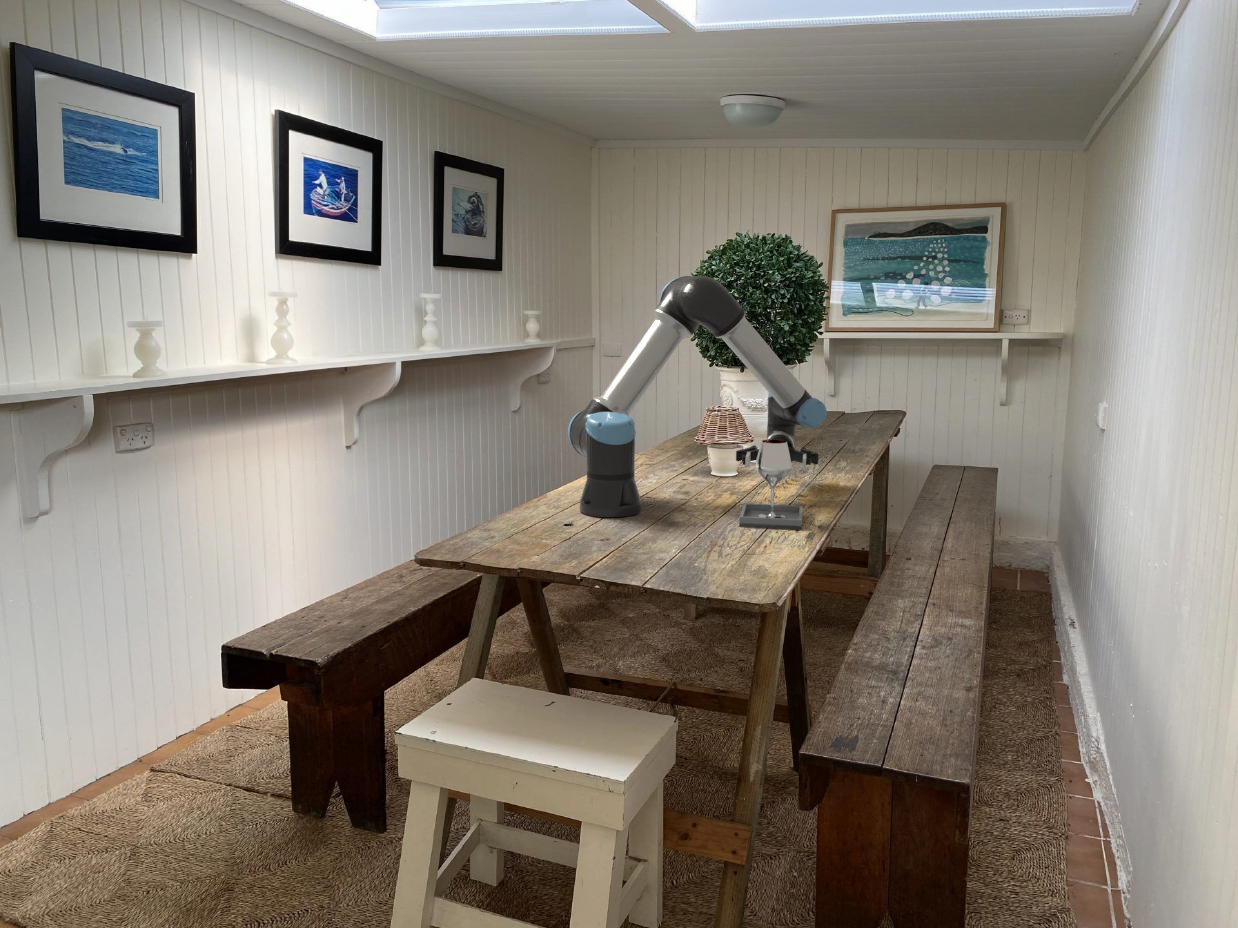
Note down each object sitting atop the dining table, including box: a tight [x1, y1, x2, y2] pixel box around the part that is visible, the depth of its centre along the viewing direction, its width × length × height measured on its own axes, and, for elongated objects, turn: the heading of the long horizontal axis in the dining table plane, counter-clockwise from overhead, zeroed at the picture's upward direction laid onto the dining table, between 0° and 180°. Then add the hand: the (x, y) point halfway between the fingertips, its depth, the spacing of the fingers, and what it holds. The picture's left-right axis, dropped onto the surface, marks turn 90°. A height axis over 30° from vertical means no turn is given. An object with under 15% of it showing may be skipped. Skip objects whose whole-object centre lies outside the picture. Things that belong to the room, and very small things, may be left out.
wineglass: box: [755, 439, 792, 519], centre depth 221 cm, size 8×8×18 cm
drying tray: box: [738, 502, 804, 530], centre depth 223 cm, size 14×14×2 cm
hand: (775, 463), depth 229 cm, fingers open, 13 cm apart
